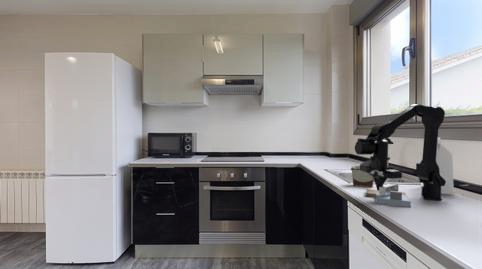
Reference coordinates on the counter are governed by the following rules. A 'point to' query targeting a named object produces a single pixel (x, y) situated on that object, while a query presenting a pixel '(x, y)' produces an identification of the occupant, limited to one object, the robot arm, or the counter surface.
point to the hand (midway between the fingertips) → (378, 190)
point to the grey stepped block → (393, 199)
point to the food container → (361, 177)
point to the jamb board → (373, 193)
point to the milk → (445, 168)
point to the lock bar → (388, 189)
